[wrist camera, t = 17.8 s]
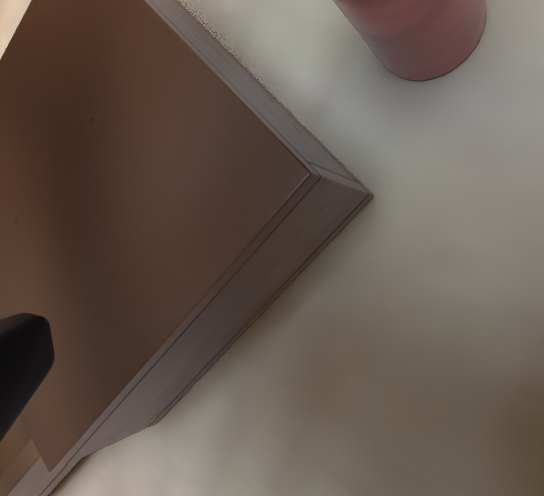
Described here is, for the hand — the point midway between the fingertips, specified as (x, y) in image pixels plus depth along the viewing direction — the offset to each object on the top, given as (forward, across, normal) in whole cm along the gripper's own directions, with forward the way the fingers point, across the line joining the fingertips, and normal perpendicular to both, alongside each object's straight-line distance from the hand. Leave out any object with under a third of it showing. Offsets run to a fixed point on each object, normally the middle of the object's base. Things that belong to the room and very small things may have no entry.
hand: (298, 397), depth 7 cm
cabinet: (+11, +8, +2) cm, 14 cm away
